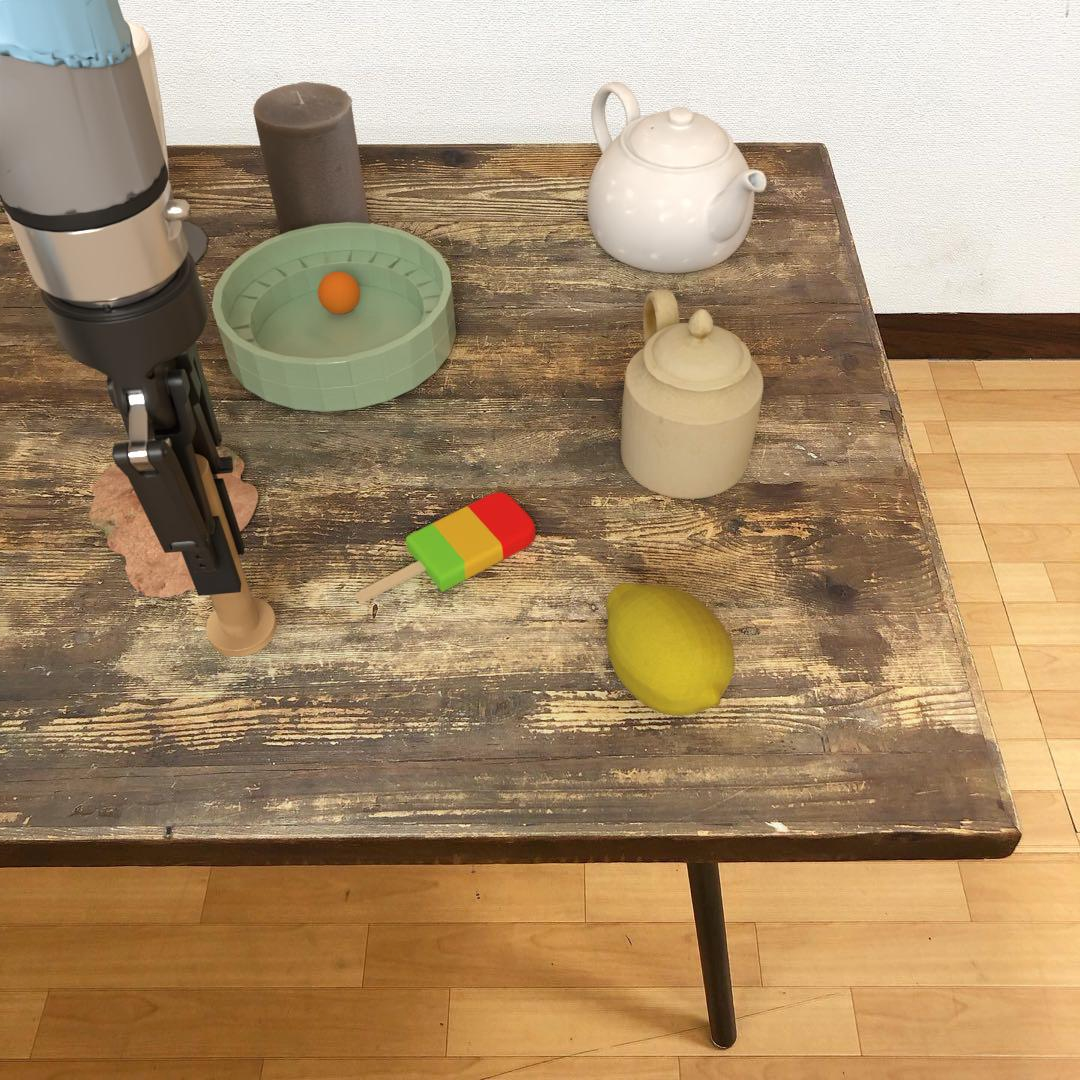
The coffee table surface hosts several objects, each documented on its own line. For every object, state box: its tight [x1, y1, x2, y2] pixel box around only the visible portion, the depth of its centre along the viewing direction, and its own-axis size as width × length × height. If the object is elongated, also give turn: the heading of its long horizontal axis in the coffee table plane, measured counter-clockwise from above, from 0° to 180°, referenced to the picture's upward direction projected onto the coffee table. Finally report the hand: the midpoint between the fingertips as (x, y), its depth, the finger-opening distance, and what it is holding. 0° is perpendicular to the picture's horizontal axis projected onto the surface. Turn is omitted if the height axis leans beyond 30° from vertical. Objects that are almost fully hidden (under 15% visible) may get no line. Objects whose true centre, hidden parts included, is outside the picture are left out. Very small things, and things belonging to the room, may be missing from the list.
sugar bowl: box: [620, 288, 764, 500], centre depth 86 cm, size 15×11×15 cm
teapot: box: [586, 81, 768, 274], centre depth 108 cm, size 19×18×14 cm
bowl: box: [211, 222, 457, 413], centre depth 100 cm, size 22×22×6 cm
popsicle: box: [354, 491, 537, 604], centre depth 83 cm, size 6×15×2 cm, turn 125°
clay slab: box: [88, 445, 259, 599], centre depth 85 cm, size 15×13×3 cm
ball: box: [318, 272, 360, 314], centre depth 103 cm, size 4×4×4 cm
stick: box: [195, 454, 278, 658], centre depth 70 cm, size 5×5×16 cm
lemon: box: [605, 582, 736, 717], centre depth 73 cm, size 11×8×8 cm
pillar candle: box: [253, 81, 370, 235], centre depth 110 cm, size 10×10×15 cm
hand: (221, 570), depth 71 cm, fingers closed on stick, 3 cm apart
